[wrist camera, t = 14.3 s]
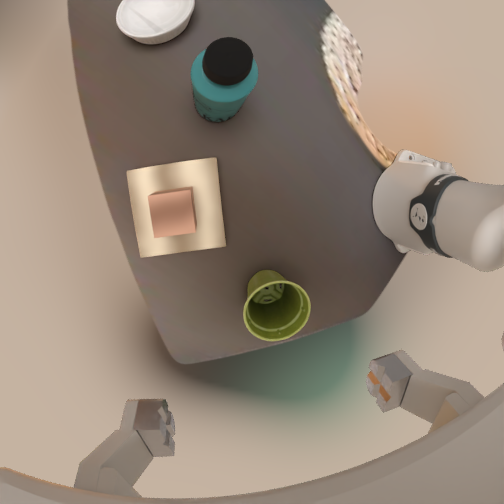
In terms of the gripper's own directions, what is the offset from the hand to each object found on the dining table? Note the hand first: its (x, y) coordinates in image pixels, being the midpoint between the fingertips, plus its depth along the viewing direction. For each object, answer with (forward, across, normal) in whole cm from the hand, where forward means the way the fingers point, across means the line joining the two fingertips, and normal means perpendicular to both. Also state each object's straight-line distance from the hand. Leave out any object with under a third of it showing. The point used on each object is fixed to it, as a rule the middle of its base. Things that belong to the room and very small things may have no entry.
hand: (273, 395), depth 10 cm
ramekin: (+34, -7, +33) cm, 48 cm away
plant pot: (+34, +6, -12) cm, 37 cm away
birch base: (+34, -6, +3) cm, 35 cm away
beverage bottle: (+34, +1, +17) cm, 38 cm away
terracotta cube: (+30, -6, +3) cm, 31 cm away
